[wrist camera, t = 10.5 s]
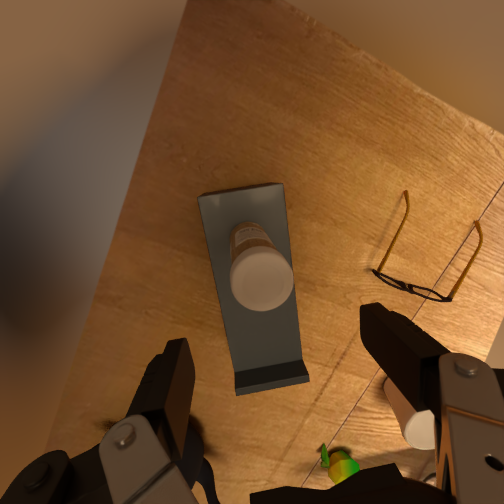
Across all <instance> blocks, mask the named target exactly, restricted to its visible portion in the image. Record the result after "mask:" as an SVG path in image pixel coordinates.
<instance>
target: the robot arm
mask: <svg viewBox="0 0 504 504" xmlns="http://www.w3.org/2000/svg"><path fill="white" fill-rule="evenodd" d="M360 336H361V340H362V343H363V345H364V347H365V348H366V350H367V351H368V352H369V353H370V354H371V356H372V357H373V358H374V359H375V361H376V362H377V363H378V364H379V366H380V367H381V368H382V369H383V371H384V372H385V373H386V374H387V376H388V377H389V378H390V379H391V381H392V382H393V383H394V384H395V386H396V387H397V388H398V389H399V391H400V392H401V393H402V394H403V396H404V397H405V398H406V399H407V401H408V402H409V403H410V404H411V406H412V407H413V408H414V409H415V411H416V412H422V411H427V410H430V411H431V412H432V413H433V415H434V440H435V457H436V487H434V486H433V485H430V484H428V483H425V482H422V481H420V480H416V479H412V478H407V477H403V476H402V475H401V473H400V471H399V469H398V468H397V466H396V464H395V463H391V464H387V465H382V466H377V467H373V468H368V469H363V470H359V471H358V472H356V473H354V474H353V475H351V476H349V477H348V478H346V479H345V480H343V481H341V482H340V483H338V484H336V485H335V486H333V487H331V488H330V489H327V490H319V489H309V488H300V487H290V486H284V487H279V488H274V489H270V490H265V491H260V492H256V493H251V494H250V504H504V369H494V368H490V367H489V366H488V365H487V364H486V363H485V362H483V361H481V360H479V359H477V358H475V357H473V356H470V355H466V354H462V353H452V352H450V351H449V350H448V349H447V348H445V347H444V346H443V345H441V344H440V343H439V342H438V341H436V340H435V339H434V338H433V337H431V336H430V335H429V334H427V333H426V332H425V331H423V330H422V329H421V328H420V327H418V326H417V325H415V323H413V322H412V321H411V320H410V319H408V318H407V317H406V316H404V315H401V314H399V313H397V312H394V311H389V310H388V309H386V308H385V307H384V306H383V305H382V304H380V303H379V302H376V303H370V304H365V305H361V306H360ZM194 383H195V367H194V363H193V359H192V356H191V352H190V348H189V345H188V341H187V339H186V338H180V339H174V340H169V341H168V342H167V344H166V347H165V349H164V352H163V354H158V355H156V356H155V357H154V358H153V360H152V361H151V362H150V363H149V364H148V366H147V368H146V371H145V373H144V376H143V378H142V380H141V382H140V385H139V387H138V389H137V391H136V394H135V396H134V398H133V401H132V403H131V405H130V407H129V410H128V412H127V414H126V417H125V418H124V419H122V420H120V421H119V422H117V423H116V424H115V425H113V426H112V427H111V428H110V429H109V430H108V431H107V433H106V434H105V435H104V437H103V439H102V441H101V443H100V445H98V446H96V447H94V448H92V449H90V450H88V451H86V452H84V453H82V454H80V455H78V456H76V457H74V458H72V459H69V457H68V455H67V453H66V452H65V451H62V450H55V451H51V452H48V453H46V454H44V455H42V456H40V457H39V458H37V459H36V460H34V461H33V462H32V463H30V464H29V465H28V466H27V467H25V468H24V469H23V470H22V471H21V472H20V473H19V474H18V475H17V477H16V478H15V479H14V480H13V482H12V483H11V484H10V486H9V487H8V489H7V490H6V492H5V494H4V495H3V496H2V498H1V499H0V504H199V503H198V501H197V500H196V498H195V496H194V494H193V493H192V491H191V489H190V488H189V486H188V484H187V482H186V481H185V479H184V477H183V476H182V474H181V472H180V470H179V469H178V467H177V465H176V464H175V463H174V461H178V460H182V454H183V448H184V443H185V437H186V431H187V425H188V419H189V413H190V407H191V401H192V395H193V389H194Z"/></svg>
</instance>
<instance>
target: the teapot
mask: <svg viewBox="0 0 504 504" xmlns="http://www.w3.org/2000/svg"><path fill="white" fill-rule="evenodd" d="M98 445H100V443H99V444H97V445H96V446H98ZM96 446H94V447H96ZM94 447H93V448H94ZM174 463H175V464H176V465H177V467H178V469H179V470H180V472H181V474H182V476H183V477H184V479H185V481H186V482H187V484H188V486H189V488H190V489H191V490H192V488H193V486H194V484H195V482H196V481H198V482H199V483H200V484H201V485H202V486H203V488H204V491H205V494H206V498H207V501H208V504H220V502H219V501H218V498H217V495H216V490H215V482H214V475H213V470H212V467H211V465H210V463H209V462H208V461H207V460H206V459H205V458H204V445H203V441H202V438H201V436H200V434H199V432H198V431H197V430H196V428H195V427H194V426H193V425H191V424H190V423H189V422H188V425H187V431H186V437H185V443H184V448H183V454H182V460H178V461H174Z"/></svg>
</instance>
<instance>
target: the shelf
mask: <svg viewBox="0 0 504 504" xmlns="http://www.w3.org/2000/svg"><path fill="white" fill-rule="evenodd" d="M197 199H198V204H199V208H200V213H201V218H202V222H203V227H204V232H205V236H206V241H207V246H208V251H209V255H210V260H211V265H212V269H213V274H214V279H215V283H216V288H217V293H218V297H219V302H220V307H221V312H222V316H223V321H224V326H225V330H226V335H227V340H228V344H229V349H230V354H231V358H232V363H233V368H234V375H235V392H236V396H239V395H245V394H250V393H255V392H260V391H265V390H270V389H275V388H280V387H286V386H291V385H296V384H301V383H306V382H310V380H309V374H308V371H307V369H306V366H305V364H304V361H303V359H302V350H301V341H300V331H299V322H298V313H297V304H296V295H295V286H294V284H293V289H292V291H291V293H290V295H289V297H288V298H287V299H286V301H285V302H284V303H282V304H281V305H280V306H278V307H276V308H274V309H271V310H268V311H254V310H250V309H248V308H246V307H244V306H243V305H241V304H240V303H239V302H238V301H237V300H236V298H235V297H234V295H233V293H232V290H231V284H230V270H231V267H232V261H231V255H230V235H231V232H232V230H233V229H234V228H235V227H236V226H237V225H239V224H241V223H244V222H253V223H257V224H258V225H260V226H261V227H262V228H263V229H264V231H265V233H266V234H267V236H268V237H269V238H270V240H271V241H272V243H273V244H274V246H275V247H276V249H277V251H278V252H280V253H281V254H282V255H283V256H284V258H285V259H286V260H287V262H288V264H289V265H290V267H291V269H292V272H293V268H292V259H291V250H290V241H289V232H288V223H287V214H286V205H285V196H284V187H283V183H272V182H271V183H265V184H258V185H252V186H246V187H240V188H233V189H227V190H221V191H215V192H209V193H204V194H202V195H200V196H199V197H197Z"/></svg>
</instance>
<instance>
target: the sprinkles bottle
mask: <svg viewBox="0 0 504 504" xmlns="http://www.w3.org/2000/svg"><path fill="white" fill-rule="evenodd" d="M230 255H231V261H232V267H231V270H230V284H231V290H232V293H233V295H234V297H235V298H236V300H237V301H238V302H239V303H240V304H241V305H243V306H244V307H246V308H248V309H250V310H254V311H268V310H271V309H274V308H276V307H278V306H280V305H281V304H282V303H284V302H285V301H286V299H287V298H288V297H289V295H290V293H291V291H292V289H293V284H294V276H293V272H292V269H291V267H290V265H289V264H288V262H287V260H286V259H285V258H284V256H283V255H282V254H281V253H280V252H278V251H277V249H276V247H275V246H274V244H273V243H272V241H271V240H270V238H269V237H268V236H267V234H266V233H265V231H264V229H263V228H262V227H261V226H260V225H258V224H257V223H253V222H244V223H241V224H239V225H237V226H236V227H235V228H234V229H233V230H232V232H231V235H230Z"/></svg>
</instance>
